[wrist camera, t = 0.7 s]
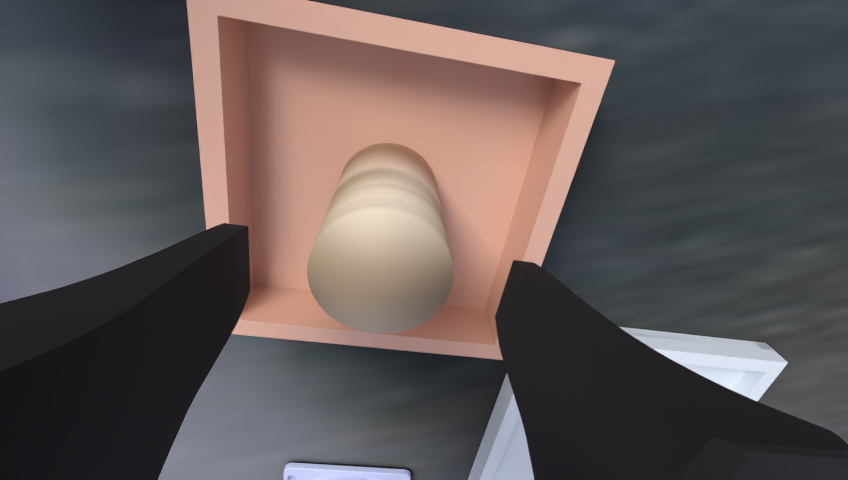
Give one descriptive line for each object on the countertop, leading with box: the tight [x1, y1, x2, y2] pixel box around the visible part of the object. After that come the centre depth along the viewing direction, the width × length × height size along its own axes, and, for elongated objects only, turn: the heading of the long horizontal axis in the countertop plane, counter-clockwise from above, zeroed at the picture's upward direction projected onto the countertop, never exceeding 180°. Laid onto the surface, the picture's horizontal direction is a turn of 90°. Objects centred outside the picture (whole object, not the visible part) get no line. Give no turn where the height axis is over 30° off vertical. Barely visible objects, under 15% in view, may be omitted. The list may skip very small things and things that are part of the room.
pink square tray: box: [187, 0, 615, 360], centre depth 16 cm, size 13×13×3 cm
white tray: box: [468, 327, 788, 480], centre depth 25 cm, size 14×14×2 cm
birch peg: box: [307, 143, 453, 334], centre depth 14 cm, size 4×4×6 cm
